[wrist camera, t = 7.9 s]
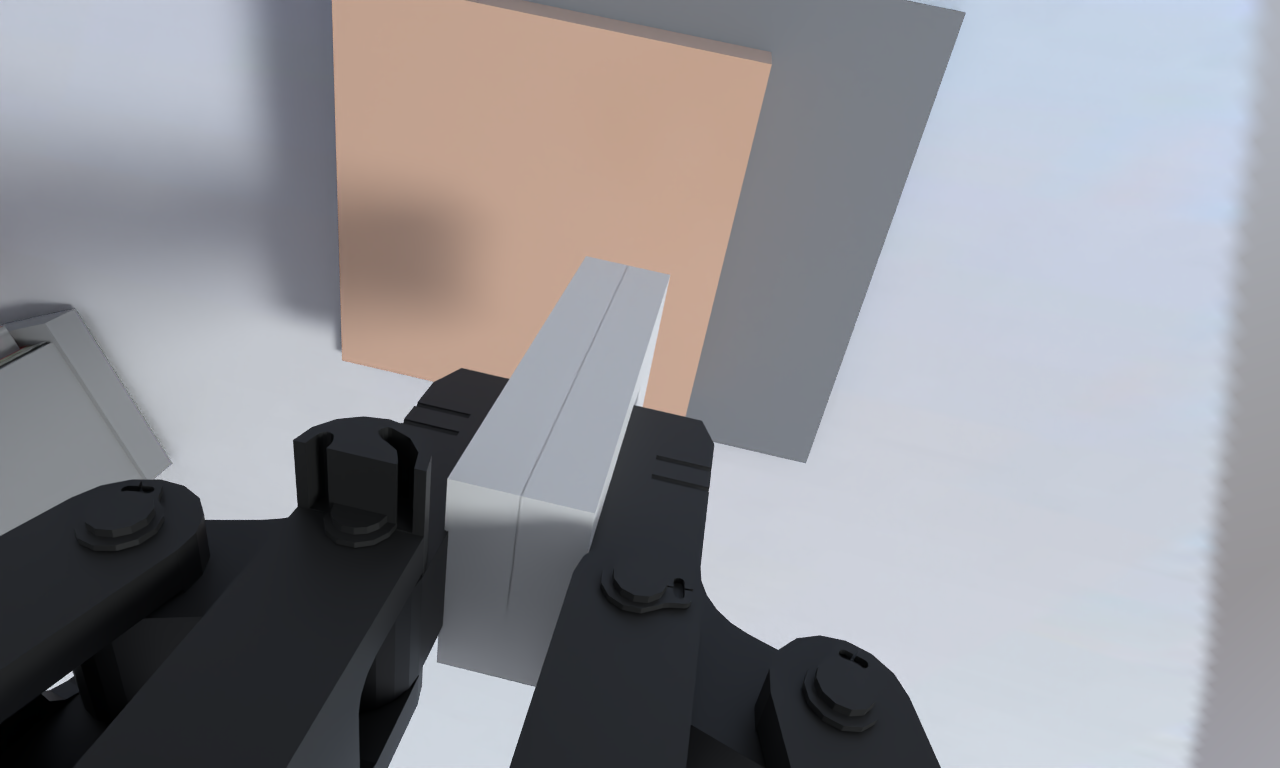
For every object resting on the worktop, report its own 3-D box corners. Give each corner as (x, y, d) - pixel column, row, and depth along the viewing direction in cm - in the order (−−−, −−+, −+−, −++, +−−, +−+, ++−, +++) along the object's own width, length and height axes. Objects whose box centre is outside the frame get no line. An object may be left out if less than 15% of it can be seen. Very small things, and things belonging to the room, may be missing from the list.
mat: (352, 351, 23) (345, 356, 23) (342, -115, 17) (333, -116, 17) (805, 455, 22) (806, 463, 22) (961, 11, 16) (965, 12, 16)
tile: (689, 390, 21) (384, 321, 22) (771, 51, 17) (385, -29, 17) (679, 438, 19) (341, 360, 20) (771, 64, 15) (330, -28, 15)
